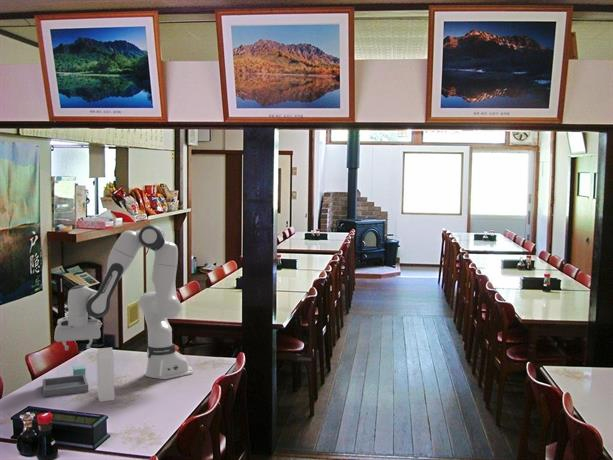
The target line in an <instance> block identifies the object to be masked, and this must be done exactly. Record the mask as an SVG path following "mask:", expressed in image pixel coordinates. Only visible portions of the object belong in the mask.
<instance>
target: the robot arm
mask: <svg viewBox="0 0 613 460" xmlns="http://www.w3.org/2000/svg"><path fill="white" fill-rule="evenodd" d="M141 248H146V249H150V250H151V251H153V252H154V260H153V265H152V271H151V272H152V273H151V281H152V283H153V285H154V291H148V292H144V293H143V294H142V295H141V296H140V297H139V300H138V306H139V309H141V311H142V313H143V315H144V319H145V323H146V326H147V327H146V328H147V342H148V343H147V348H146V353H147V355H146V356H147V364H146V370H145V373H144V375H145V376H146V377H148V378H153V379H160V380H168V379H173V378H174V379H175V378H177V377H178V378H179V377H183V376H189V375H192V374H193V373H194V370H193V369H194V368H193V367H192V366H190V365H189V363H188V359H187V357H185V356H184V354H182V353H180V352H178V351H179V349H180V347H179V346H178V345H176V343H175V344H174V343H173V333H172V332H173V328H172V326H171V325H170V323H169V320H168V319H175V318H177V317H178V316H179V315H180V313H181V311H182V304H181V302H180V299H179V298H178V294H177V288H176V277H177V270H178V263H179V262H178V261H179V260H178V259H179V249H178V246H177V244H176V243H174V242H172V241H168V240H166V239H165V233H164V231H163V230H162V229H161V228H160V227H159V226H157V225H154V224H147V225H145V226H143V227H142V228H141V229H140V230H139V232H138V231H137V232H136V231H134V230H130V229H129V230H125V231H123V232H122V233H121V234H120V236H119V237H118V238H117V240H116V241H115V243H114V244H113V247H112V249H111V250H110V252H109V254H108V257H107V258H108V259H107V261H106V262H107V263H106V264H107V267H106V272H105V276H104V277H103V280H102V283H101V284H100V286H99V288H98V290H96V289H92V288H90V287H89V286H86V284H79V285H75V286H73V287H71V288H70V289H69V290H68V293H67V307H68V310H67V316H65V317H61V318H58V319H57V322H56V324H57V325H56V327H55V330H54V337H53V339H54V341H55V342H57V343H59V342H62V345H63V346H64V351H70V349H69V348H70V347H69V345H67V342H72V341H73V342H74V341H75V342H76V341H84V340H85V341H86V340H88V341H89V342H88V344H86V349H87V350H88V349H91V345H92V344H93V342H94V340H99V339H100V338H101V329H100V328H101V327H102V321H101V320H100V318H103V317H104V316H106V315H107V314H108V313H109V311H110V303H111V298H112V295H113V294H114V292H115V289H116V287H117V286H118V284H119V281H120V279H121V278H122V276H124V274H125V273H126V272H127V270H128V269H129V268H130V266H131V265H132V263H133V261H134V259H135V257H136V256H137V254H138V252H139V251H140V250H141ZM89 316H90V317H92V318H93V319H91V318H90V319H88V318H89ZM94 318H95V319H94Z"/></svg>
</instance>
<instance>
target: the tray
mask: <svg viewBox="0 0 613 460" xmlns="http://www.w3.org/2000/svg"><path fill="white" fill-rule="evenodd" d="M42 391H43V398H48V397H49V398H50V397H58V396H63V395H64V396H65V395H72V394H79V393H87V392H89V383H88V380H87V377H86V373H85V374H82V375H73V374H72V375H66V376H65V375H64V376H60V377H59V376H58V377H51V378H50V377H49V378H42Z"/></svg>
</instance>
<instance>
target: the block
mask: <svg viewBox="0 0 613 460" xmlns="http://www.w3.org/2000/svg"><path fill="white" fill-rule="evenodd" d="M72 373H73V374H72V376H73V375H82V374H85V375H86V366H85V365H78V366H72Z"/></svg>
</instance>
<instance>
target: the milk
mask: <svg viewBox="0 0 613 460" xmlns="http://www.w3.org/2000/svg"><path fill="white" fill-rule="evenodd" d="M113 351H114V350H113V347H102V348H98V349H97V353H96V362H97V363H96V365H97V366H96V367H97V369H96V370H97V374H96V376H97V377H96V378H97V398H98V401H99V402H100V403H101V402H108V401H115V364H114V363H115V358H114V352H113Z"/></svg>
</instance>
